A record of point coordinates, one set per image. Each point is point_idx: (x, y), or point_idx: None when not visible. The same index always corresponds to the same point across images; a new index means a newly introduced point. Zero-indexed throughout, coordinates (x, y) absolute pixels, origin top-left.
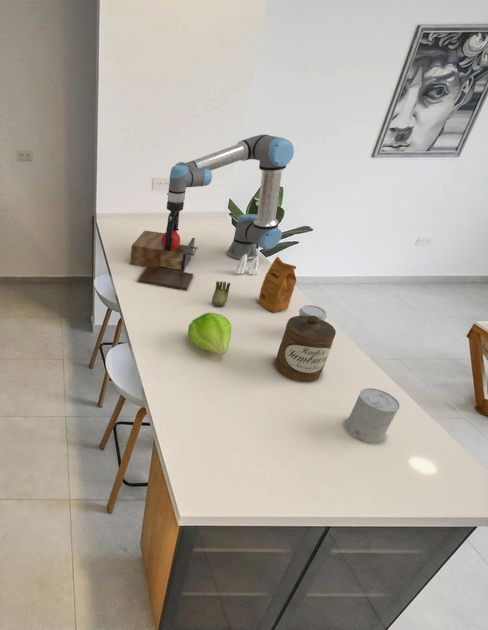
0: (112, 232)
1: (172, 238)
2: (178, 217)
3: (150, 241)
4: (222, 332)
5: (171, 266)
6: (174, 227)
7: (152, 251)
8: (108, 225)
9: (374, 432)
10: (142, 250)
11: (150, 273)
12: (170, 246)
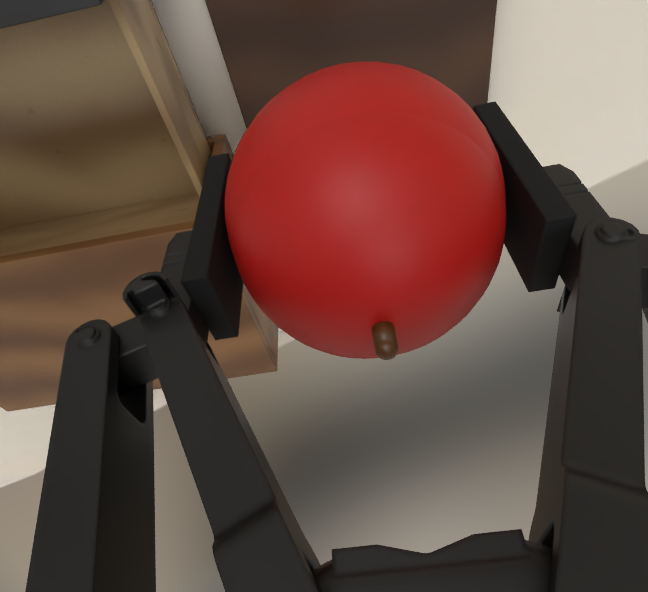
0: (45, 440)
1: (497, 208)
2: (79, 562)
3: None
4: None
5: (171, 65)
6: (213, 360)
7: None
8: (6, 467)
9: None
10: (257, 308)
11: None
12: (517, 138)
